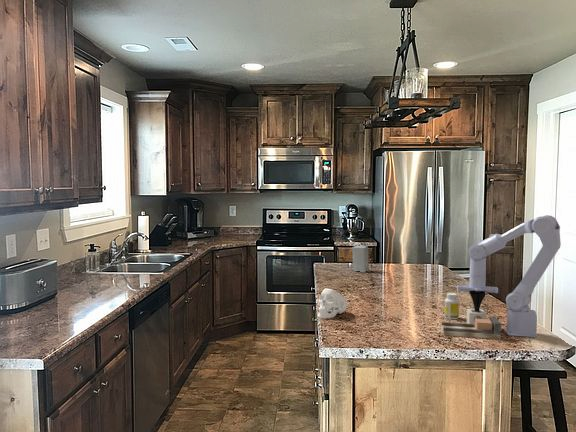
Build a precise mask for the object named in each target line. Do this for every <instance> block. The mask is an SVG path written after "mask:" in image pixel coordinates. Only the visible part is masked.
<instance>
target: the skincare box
mask: <svg viewBox="0 0 576 432" xmlns="http://www.w3.org/2000/svg"><path fill="white" fill-rule="evenodd" d="M351 249H352V252H351V253H352V272H353V271H360V272H359V273H367V272H369V271H368V270H370V269H369V268H370V267H369V246H367V245H365V246H364V245H355V246H352V248H351ZM366 271H367V272H366Z"/></svg>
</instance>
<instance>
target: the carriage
mask: <svg viewBox="0 0 576 432" xmlns="http://www.w3.org/2000/svg"><path fill="white" fill-rule="evenodd" d="M475 329H478V330H492V322H491V321H490V318H488V319H487V318H486V319H475Z"/></svg>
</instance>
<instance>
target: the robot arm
mask: <svg viewBox="0 0 576 432" xmlns="http://www.w3.org/2000/svg"><path fill="white" fill-rule="evenodd" d="M560 232H561V225H560V224H559V222H558V220H557V218H555V217H554V216H552V215H549V214H548V215H543V216H542V215H541V216H537V217H535V218H534V219H530V220H527V221H524V222H522V223H521V224H519V225H517V226H515V227H513V228H512V229H509V230H508V231H506V232H504V233H503V234H501V233H500V234H499V233H495V234H494V233H491V234H489V237H487V238H485V239H484V240H479V241H478V243H477V244H476V243H475V244H472V245H471V246H470V247H469V248H468V251H467V254H468V256H469V283H468V284H469V285H468V284H467V285H466V284H465V285H456V291H457V292H468V293H469V295H470V298H471V300H472V305H473V309H474V310H475V311H479V310H481V308H480V307H481V305H482V302H483V300H484V299H485V297H486V293H491V294H493V293H494V294H498V293H499V288H498V287H497V286H488V285H487V286H486V284H487V283H486V282H487V281H486V280H487V278H486V277H487V276H486V275H487V257H488V256H489V255H493V254H494V253H496V252H498V251H500V250H502V249H504V248H506V245H507V243H508V242H510V241H512V240H514V239H516V238H518V237H520V236H522V235H525V234H533V233H535V235H536V236H537V237H538V238H539V240H540V241H541V242H540V243H541V244H542V246H541V248H540V250H539V251H538V253H537V255H536V256H535V258H534V260H533V261H532V263H531V264H530V266H529V268H528V270H527V271H526V272H525V274H524V276H523V277H522V279H521V280H520V282H519V284H518V285H516V287H515V288H514V289H513V291H511V292H510V293H508V294H507V296H506V297H505V303H506V306H507V307H506V309H507V310H506V311H507V312H506V327H503V331H505V333H506V334H507V335H508V336H511V337H527V338H537V337H538V335H537V329H538V328H537V327H538V326H537V325H538V315H537V312H536V310H534V309H530V307H529V304H530V303H531V302H532V295H533V293H534V290H535V288H536V286H537V284H538V283H539V282H540V280H541V278H542V277H543V275H544V274H545V272H546V270H547V268H548V267H549V265H550V263H552V261H553V260H554V258H555V256H556V254H557V253H558V251H559V250H560V248H561V244H562V243H561V233H560Z"/></svg>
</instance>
